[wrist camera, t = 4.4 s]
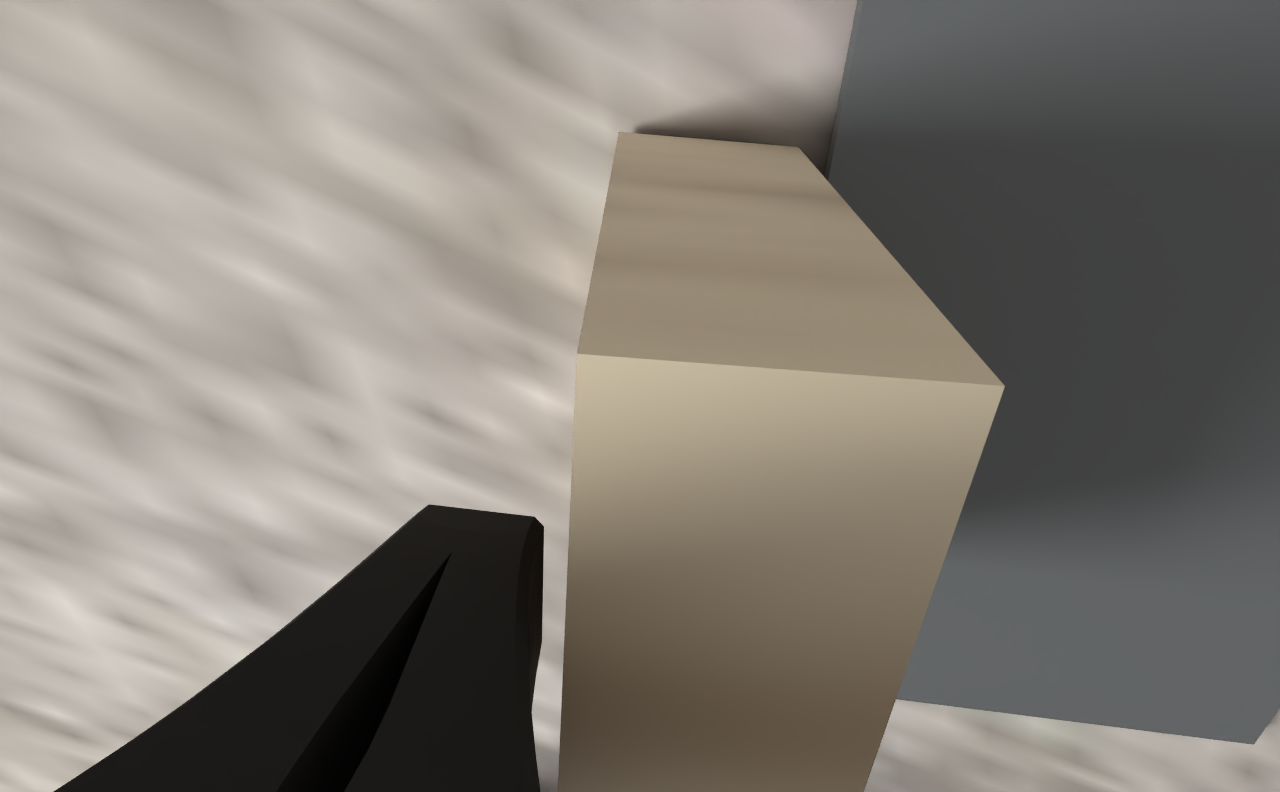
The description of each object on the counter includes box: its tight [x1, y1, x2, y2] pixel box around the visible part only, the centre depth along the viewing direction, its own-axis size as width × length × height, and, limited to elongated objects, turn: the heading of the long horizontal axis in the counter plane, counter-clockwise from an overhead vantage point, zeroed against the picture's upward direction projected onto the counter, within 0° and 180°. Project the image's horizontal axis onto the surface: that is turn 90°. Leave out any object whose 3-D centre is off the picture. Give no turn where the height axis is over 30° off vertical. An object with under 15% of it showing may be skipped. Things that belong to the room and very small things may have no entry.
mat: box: [824, 0, 1280, 744], centre depth 14 cm, size 16×12×1 cm
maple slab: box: [558, 132, 1005, 792], centre depth 11 cm, size 8×3×8 cm, turn 176°
